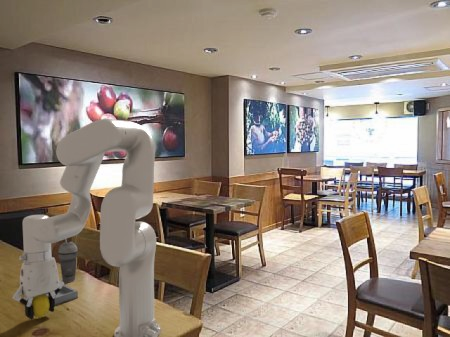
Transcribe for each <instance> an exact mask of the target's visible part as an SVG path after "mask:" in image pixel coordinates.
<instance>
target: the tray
mask: <svg viewBox="0 0 450 337" xmlns="http://www.w3.org/2000/svg"><path fill="white" fill-rule="evenodd" d="M45 295H47V297H48V294H47V293H45ZM76 299H79V293H78V290H76V289H74V288H72V287H70V286H68V285H65V284H64V285H63V286H62V288H61V289H60V291H59V292H58V294H57V295H56V298H55V306H58V305H61V304H64V303H68V302H70V301H73V300H76Z"/></svg>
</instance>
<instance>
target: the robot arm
mask: <svg viewBox="0 0 450 337" xmlns="http://www.w3.org/2000/svg"><path fill="white" fill-rule="evenodd" d="M152 136H153V135H152V134H151V132H149V131H148V130H147V128H145V126H143V125H140V124H138V123H136V122H133V121H130V120H123V119H122V120H121V119H113V118H101V119H97V120H95V121H92V122H90V123H88V124H86V125H84V126H82V127H80V128H78V129H75V130H73V131H71V132H70V133H68V134H66V135H64V136H63V137H62V138H61V139H60V140H59V141H58V144H57V146H56V151H55V154H56V157H57V160H58V161H59V162H60V163H61V164H62V165H63V166H65V169H64V171H63V173H62V175H61V178H60V181H59V184H60V186H61V188H62V189H63V190H65V191H66V192H68V193H70V194H71V201H70V204H69V206H68V209H67V211H66V212H65V213H62V214H56V215H53V216H49V215H46V214H31V215H28V216H25V217H24V218H23V219H22V237H23V239H22V240H23V253H22V255H19V258H18V259H19V261H21V267H20V274H19V275H20V276H19V287H18V288H17V290H16V291H15V293H14V294H13V295H12V297H11V298H12V299H13V300H15V301H17V302H19V303H20V304H22V305H24V314H25V317H26V318H28V319H29V320H34V318H35V316H34V314H33V306H32V305H31V303H32V300H33V297H35V296H38V295H42V294H45V293H47V294H48V299H49V302H50V307H49V310H48V312H51V313H53V312H54V311H55V308H56V305H55V298H56V295H57V294H58V292H59V291H60V289H61V288H62V286H63V285H65V282H63V280H62V279H60V278H59V271H58V265H57V262H56V259H55V257H54V256H53V254H52V253H53V252H52V244H54V243H58V242H60V241H63V240H65V239H69V238H72V237H74V236H75V237H76V236H77V235H79V234H80V233H81V232H82V231H83V229H84V227H85V226H86V224H87V222H88V219H89V216H90V214H91V212H92V211H91V210H92V196H91V193H90V190H91V189H92V186H93V183H94V181H95V179H96V176H97V173H98V171H99V169H100V166H101V164H102V162H103V159H104V157H105V154H106V153H108V152H109V153H110V152H124V153H126V155H125V158H124V161H123V165H122V169H121V172H122V175H121V186H116V187H114V188H112V189H110V190H109V191H108V192H107V193H106V194H105V195H104V197H103V199H102V202H101V206H100V221H99V222H100V223H99V224H100V225H99V249H100V250H99V251H100V253H101V254H100V255H101V257H102V258H103V260H104V261H105V263H106V264H108V265H109V266H112V267H118V268H119V269H118V271H119V272H118V293H119V294H118V296H119V297H118V300H119V301H118V302H119V325H118V326H117V327H116V328H115V330H114V332H113V336H114V337H159V335H160V334H161V333H162V328H161V326H160V324H159V323H158V322H157V318H155V255H156V248H157V235H156V232H155V229H154V228H153V226H152V225H151V224H149V223H147V222H145V221H136V220H139V219H142V218H144V217H146V216H147V215H148V214H149V213H151V211H152V209H153V205H154V187H155V185H154V184H155V162H156V160H155V158H156V146H155V141H154V138H153V137H152ZM22 261H23V262H22ZM21 295H22V296H24V298H23V297H22V296H21Z"/></svg>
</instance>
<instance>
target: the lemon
mask: <svg viewBox="0 0 450 337" xmlns="http://www.w3.org/2000/svg"><path fill="white" fill-rule="evenodd" d="M31 305H32V306H33V314H34V318H35V317H36V318H38V319H42V318H43V317H44V316H45V315H47V313H49V307H50V302H49V299H48V297H47V295H45V294H42V295H38V296H35V297H33V300H32V303H31Z"/></svg>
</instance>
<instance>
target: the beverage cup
mask: <svg viewBox="0 0 450 337" xmlns="http://www.w3.org/2000/svg"><path fill="white" fill-rule="evenodd" d="M67 239H68V238H67ZM67 239H64V240H65V242H63V243H61V244H60V246H59V247H58V249H57V250H58V252H57V255H58V258H59V264H60V271H61V281H62V282H64V284H65V283H72V282H74V281H76V271H77V258H78V252H79V251H78V250H79V249H78V246H77V245H76V244H75V243H74V242H73V241H68V240H67Z"/></svg>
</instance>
